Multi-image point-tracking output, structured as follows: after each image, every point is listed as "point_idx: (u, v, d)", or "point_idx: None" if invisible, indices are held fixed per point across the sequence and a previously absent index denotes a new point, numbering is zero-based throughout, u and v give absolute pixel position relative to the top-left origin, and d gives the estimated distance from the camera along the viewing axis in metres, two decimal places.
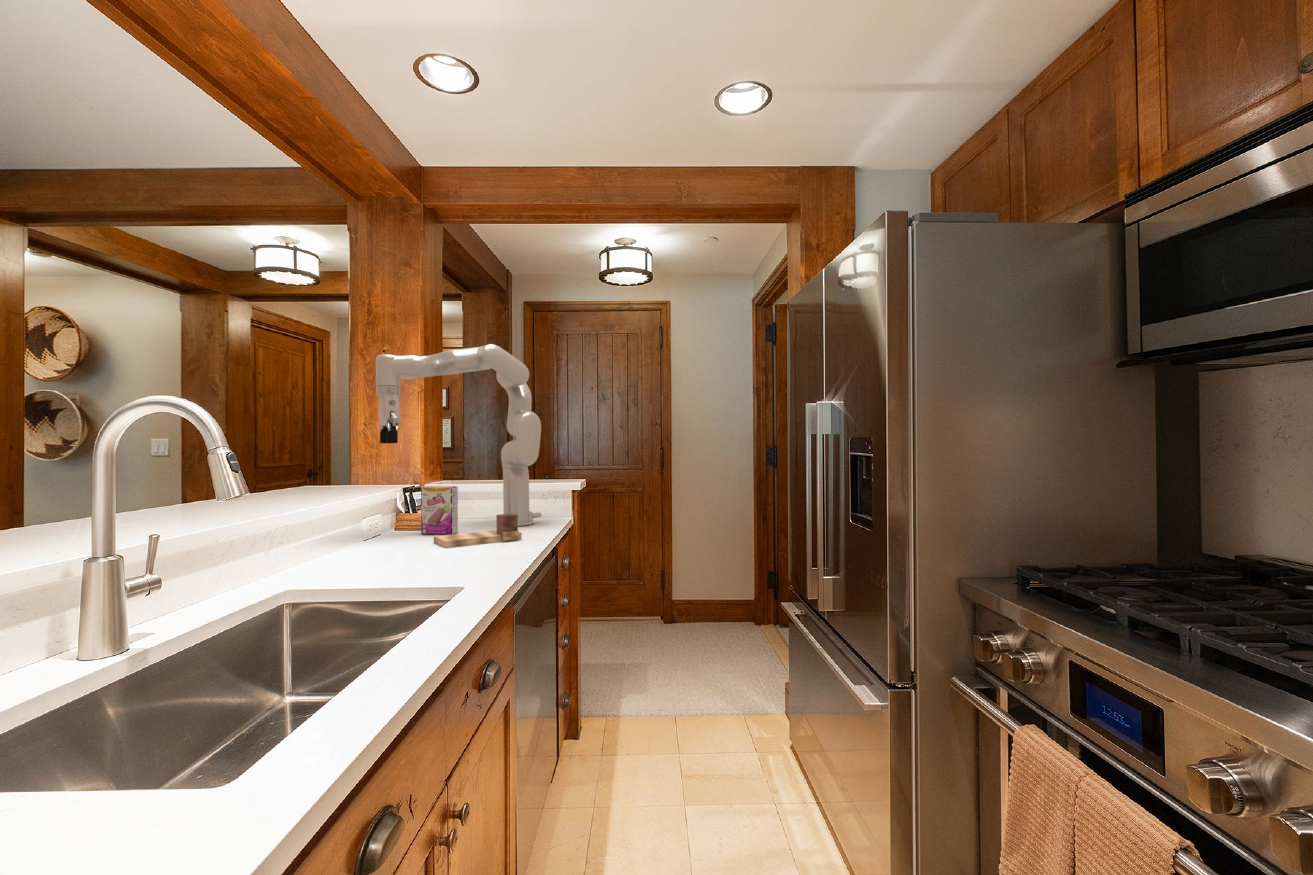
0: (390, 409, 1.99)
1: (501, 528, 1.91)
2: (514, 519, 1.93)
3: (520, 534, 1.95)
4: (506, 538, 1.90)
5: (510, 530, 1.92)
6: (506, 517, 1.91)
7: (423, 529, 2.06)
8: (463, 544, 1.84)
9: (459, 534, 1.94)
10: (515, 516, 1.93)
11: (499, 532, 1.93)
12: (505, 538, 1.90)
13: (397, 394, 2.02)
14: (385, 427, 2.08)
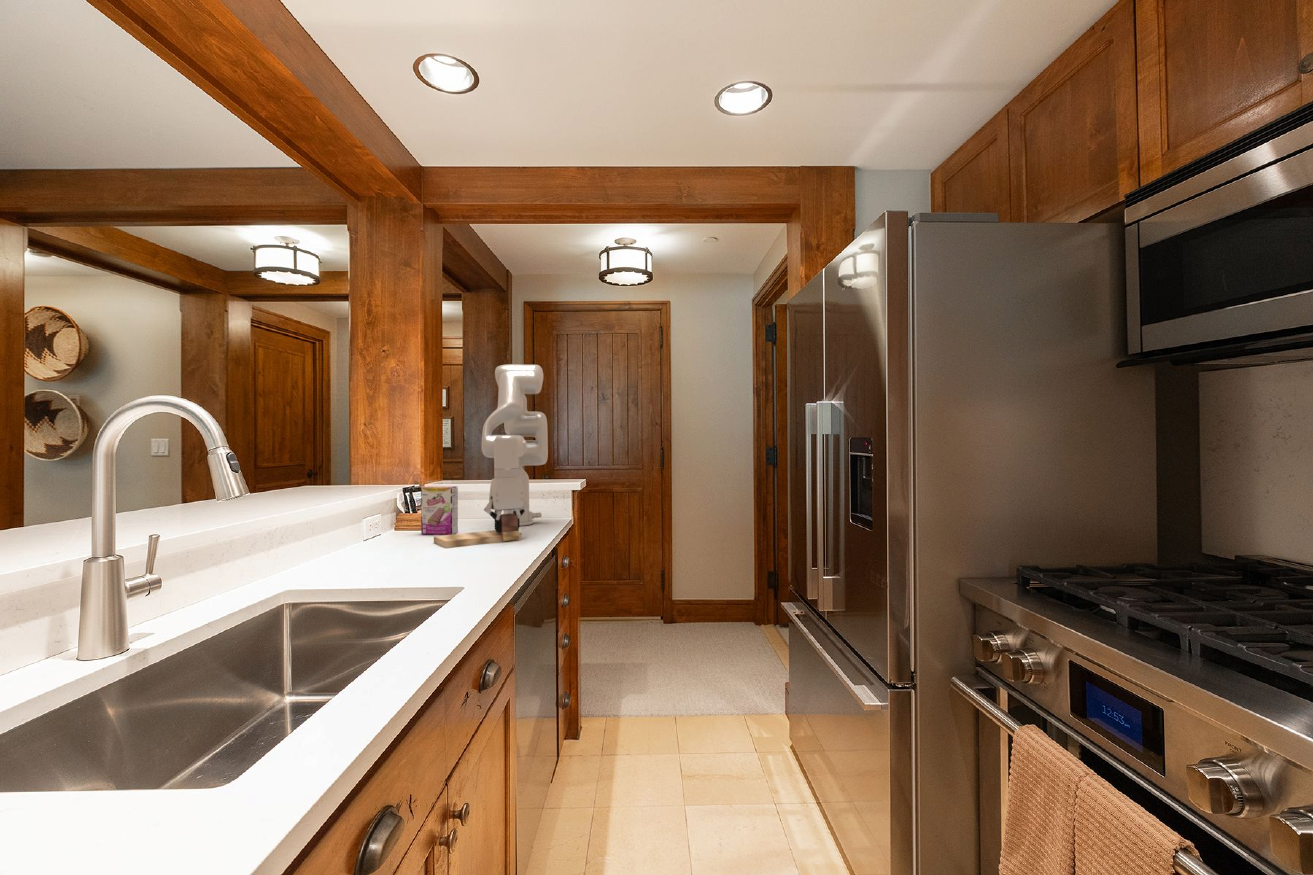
0: None
1: (501, 528, 1.91)
2: (514, 519, 1.93)
3: (520, 534, 1.95)
4: (506, 538, 1.90)
5: (510, 530, 1.92)
6: (506, 517, 1.91)
7: (423, 529, 2.06)
8: (463, 544, 1.84)
9: (459, 534, 1.94)
10: (515, 516, 1.93)
11: None
12: (505, 538, 1.90)
13: None
14: None
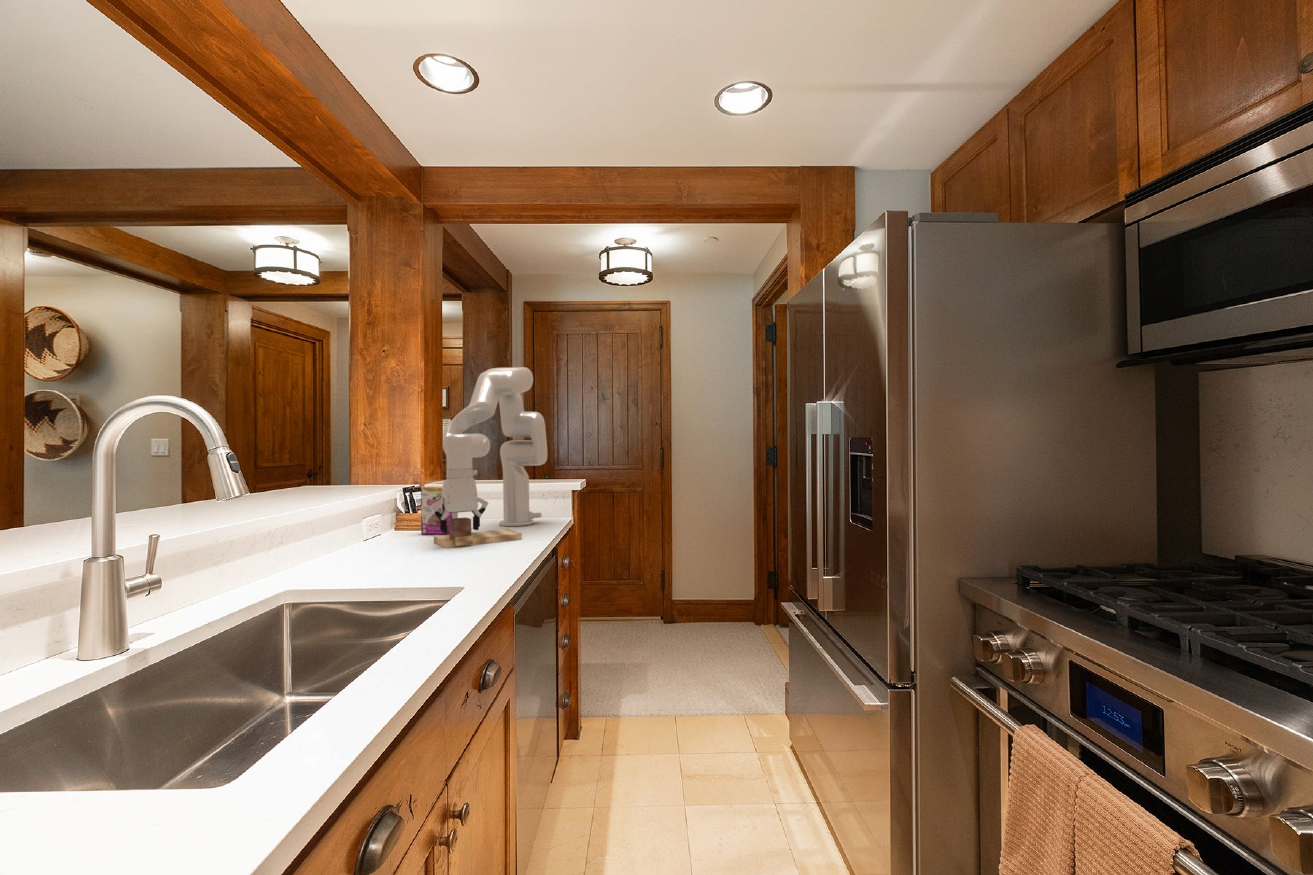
0: None
1: (453, 533, 1.83)
2: (468, 524, 1.84)
3: (520, 534, 1.95)
4: (458, 543, 1.81)
5: (463, 535, 1.83)
6: (458, 521, 1.83)
7: (423, 529, 2.06)
8: None
9: None
10: (468, 520, 1.84)
11: (452, 537, 1.84)
12: (457, 543, 1.81)
13: None
14: (441, 514, 1.82)
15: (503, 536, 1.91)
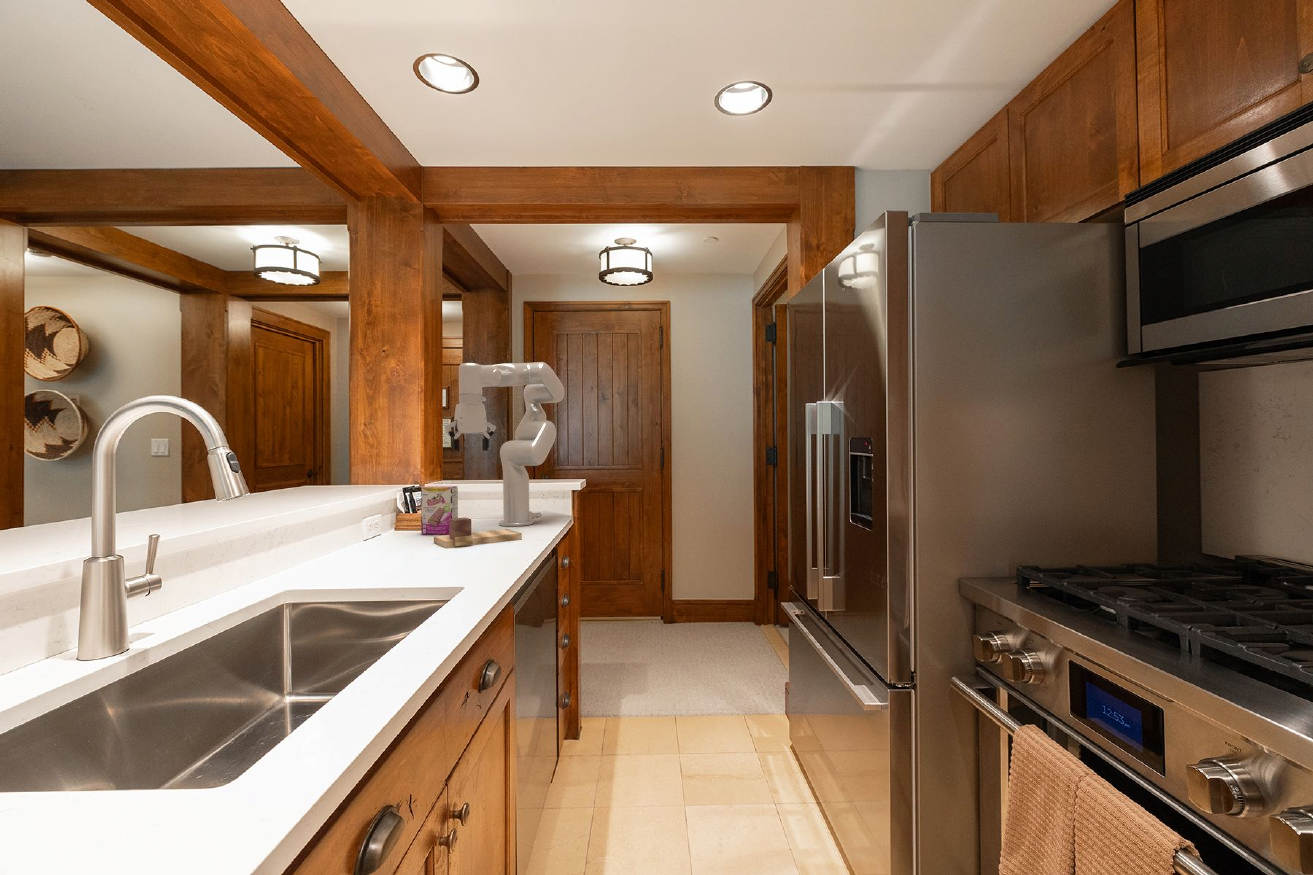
0: None
1: (453, 533, 1.83)
2: (468, 524, 1.84)
3: (520, 534, 1.95)
4: (458, 543, 1.81)
5: (463, 535, 1.83)
6: (458, 521, 1.83)
7: (423, 529, 2.06)
8: None
9: None
10: (468, 520, 1.84)
11: (452, 537, 1.84)
12: (457, 543, 1.81)
13: None
14: None
15: (503, 536, 1.91)
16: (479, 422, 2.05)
